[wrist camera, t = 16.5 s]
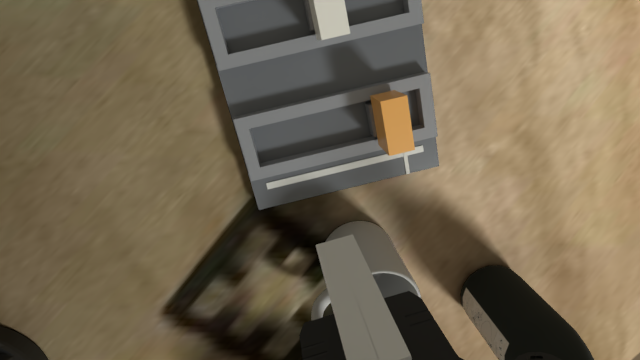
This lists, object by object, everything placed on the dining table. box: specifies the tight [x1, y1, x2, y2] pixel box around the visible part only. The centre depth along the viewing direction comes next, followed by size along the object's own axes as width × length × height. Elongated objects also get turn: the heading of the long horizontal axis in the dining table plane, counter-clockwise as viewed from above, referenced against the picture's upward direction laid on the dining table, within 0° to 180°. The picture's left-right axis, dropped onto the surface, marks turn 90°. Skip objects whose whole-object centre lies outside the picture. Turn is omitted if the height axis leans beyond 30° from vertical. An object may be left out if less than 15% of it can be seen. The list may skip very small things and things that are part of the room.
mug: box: [311, 221, 421, 320], centre depth 44 cm, size 12×8×11 cm
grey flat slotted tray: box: [197, 0, 439, 210], centre depth 40 cm, size 20×26×4 cm
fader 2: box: [365, 90, 415, 156], centre depth 39 cm, size 3×5×6 cm, turn 12°
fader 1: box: [303, 0, 350, 40], centre depth 35 cm, size 3×5×6 cm, turn 13°
